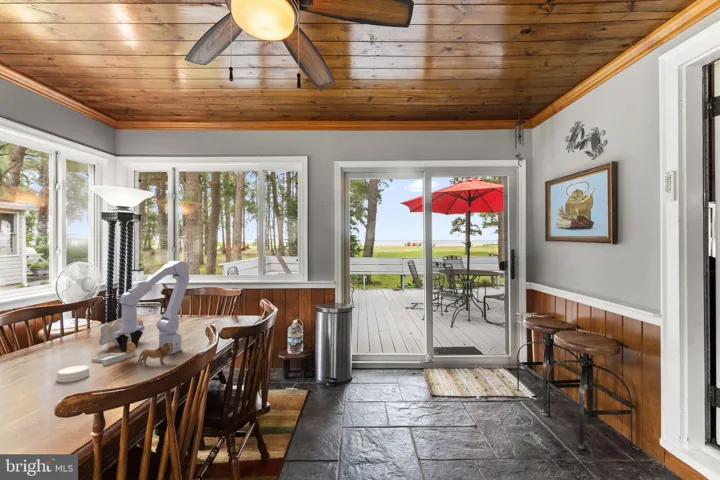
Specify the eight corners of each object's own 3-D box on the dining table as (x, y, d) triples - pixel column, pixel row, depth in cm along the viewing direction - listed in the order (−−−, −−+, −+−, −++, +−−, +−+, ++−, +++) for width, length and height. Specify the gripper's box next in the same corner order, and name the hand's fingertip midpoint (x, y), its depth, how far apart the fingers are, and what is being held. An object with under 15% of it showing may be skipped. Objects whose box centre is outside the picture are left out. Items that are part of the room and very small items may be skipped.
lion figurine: (173, 360, 162) (173, 340, 162) (173, 363, 158) (173, 343, 158) (134, 365, 156) (135, 344, 156) (133, 369, 151) (133, 347, 151)
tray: (125, 357, 166) (125, 354, 166) (107, 363, 158) (107, 360, 158) (110, 355, 169) (110, 352, 169) (91, 361, 160) (91, 358, 160)
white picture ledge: (136, 355, 169) (136, 349, 169) (106, 365, 155) (106, 359, 155) (132, 354, 170) (132, 349, 170) (102, 365, 155) (102, 359, 155)
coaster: (85, 371, 148) (85, 363, 148) (92, 377, 142) (92, 368, 142) (53, 378, 140) (54, 369, 140) (60, 385, 134) (60, 375, 134)
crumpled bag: (144, 345, 185) (144, 316, 185) (98, 351, 174) (99, 320, 174) (142, 338, 198) (142, 311, 198) (100, 344, 188) (100, 315, 188)
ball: (138, 352, 163) (138, 341, 163) (128, 355, 159) (128, 344, 159) (129, 351, 165) (129, 340, 165) (119, 354, 160) (119, 343, 160)
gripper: (135, 315, 170) (135, 344, 170) (107, 322, 156) (106, 353, 156) (148, 316, 168) (148, 345, 168) (120, 323, 154) (120, 355, 154)
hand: (129, 349), depth 162 cm, fingers closed on ball, 5 cm apart
